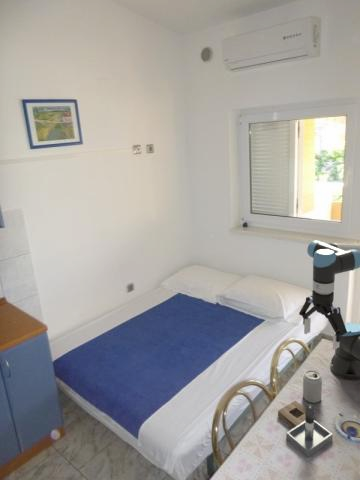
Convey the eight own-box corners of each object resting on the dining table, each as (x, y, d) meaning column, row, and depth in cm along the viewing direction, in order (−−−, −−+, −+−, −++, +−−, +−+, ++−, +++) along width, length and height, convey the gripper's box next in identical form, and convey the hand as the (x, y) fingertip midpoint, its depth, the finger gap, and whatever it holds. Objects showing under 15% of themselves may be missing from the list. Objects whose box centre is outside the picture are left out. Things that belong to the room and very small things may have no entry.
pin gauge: (308, 433, 142) (309, 403, 137) (315, 438, 139) (316, 408, 135) (303, 436, 140) (303, 406, 136) (309, 442, 138) (310, 411, 133)
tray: (310, 422, 147) (310, 417, 146) (332, 439, 139) (332, 434, 138) (286, 438, 141) (286, 432, 140) (307, 456, 132) (308, 451, 132)
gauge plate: (295, 405, 157) (295, 400, 156) (314, 419, 148) (314, 414, 148) (278, 415, 152) (278, 410, 151) (297, 431, 144) (297, 426, 143)
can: (322, 404, 156) (323, 380, 152) (303, 403, 157) (304, 379, 154) (319, 392, 163) (320, 369, 159) (301, 391, 164) (302, 368, 161)
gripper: (290, 282, 148) (290, 329, 154) (346, 305, 127) (342, 358, 133) (303, 277, 151) (302, 324, 158) (359, 299, 131) (356, 351, 137)
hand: (321, 340), depth 146 cm, fingers open, 13 cm apart
